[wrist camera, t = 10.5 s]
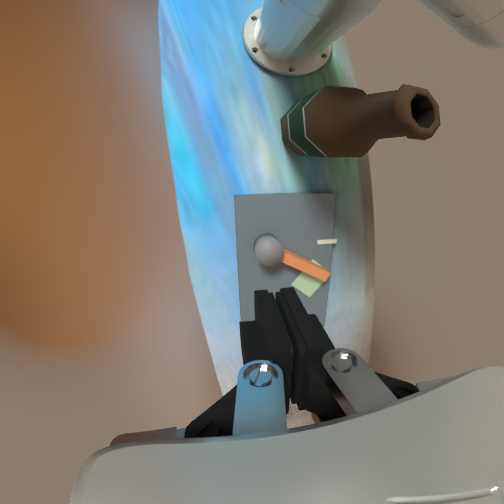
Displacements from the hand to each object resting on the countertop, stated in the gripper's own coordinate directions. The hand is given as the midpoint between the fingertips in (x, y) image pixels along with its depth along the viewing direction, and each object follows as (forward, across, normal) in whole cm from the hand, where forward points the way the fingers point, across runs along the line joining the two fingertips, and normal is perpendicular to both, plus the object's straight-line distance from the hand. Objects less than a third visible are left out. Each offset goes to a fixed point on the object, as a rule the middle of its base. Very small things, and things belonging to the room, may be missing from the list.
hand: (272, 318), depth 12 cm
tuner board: (+27, -7, +10) cm, 30 cm away
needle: (+26, -8, +8) cm, 28 cm away
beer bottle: (+27, -10, -10) cm, 31 cm away
